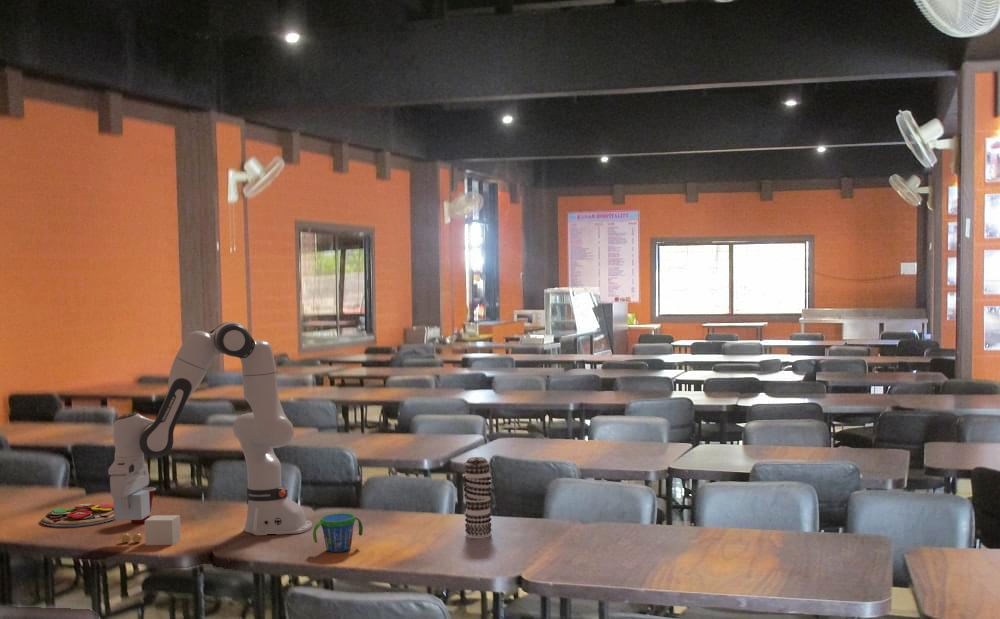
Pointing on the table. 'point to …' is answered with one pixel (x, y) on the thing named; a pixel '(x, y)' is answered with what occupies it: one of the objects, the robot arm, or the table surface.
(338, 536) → the snack cup
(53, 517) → the toy pizza
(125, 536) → the amber marble
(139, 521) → the plastic cup
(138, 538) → the amber marble
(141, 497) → the white block
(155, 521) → the grey cuboid box
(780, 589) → the table surface
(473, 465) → the decorative candle
